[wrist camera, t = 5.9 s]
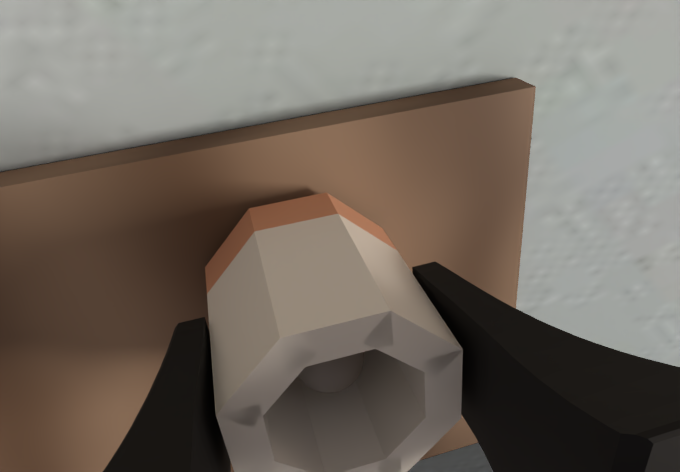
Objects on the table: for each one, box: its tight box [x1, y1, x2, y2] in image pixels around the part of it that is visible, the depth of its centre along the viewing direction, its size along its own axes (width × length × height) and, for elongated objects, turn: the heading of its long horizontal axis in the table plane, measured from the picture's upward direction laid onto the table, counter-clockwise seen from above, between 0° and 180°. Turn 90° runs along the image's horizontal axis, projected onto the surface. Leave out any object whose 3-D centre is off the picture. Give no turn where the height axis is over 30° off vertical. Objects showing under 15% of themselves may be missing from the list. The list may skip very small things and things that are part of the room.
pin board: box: [0, 78, 536, 472], centre depth 15 cm, size 20×14×5 cm
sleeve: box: [205, 192, 463, 472], centre depth 13 cm, size 5×5×5 cm
